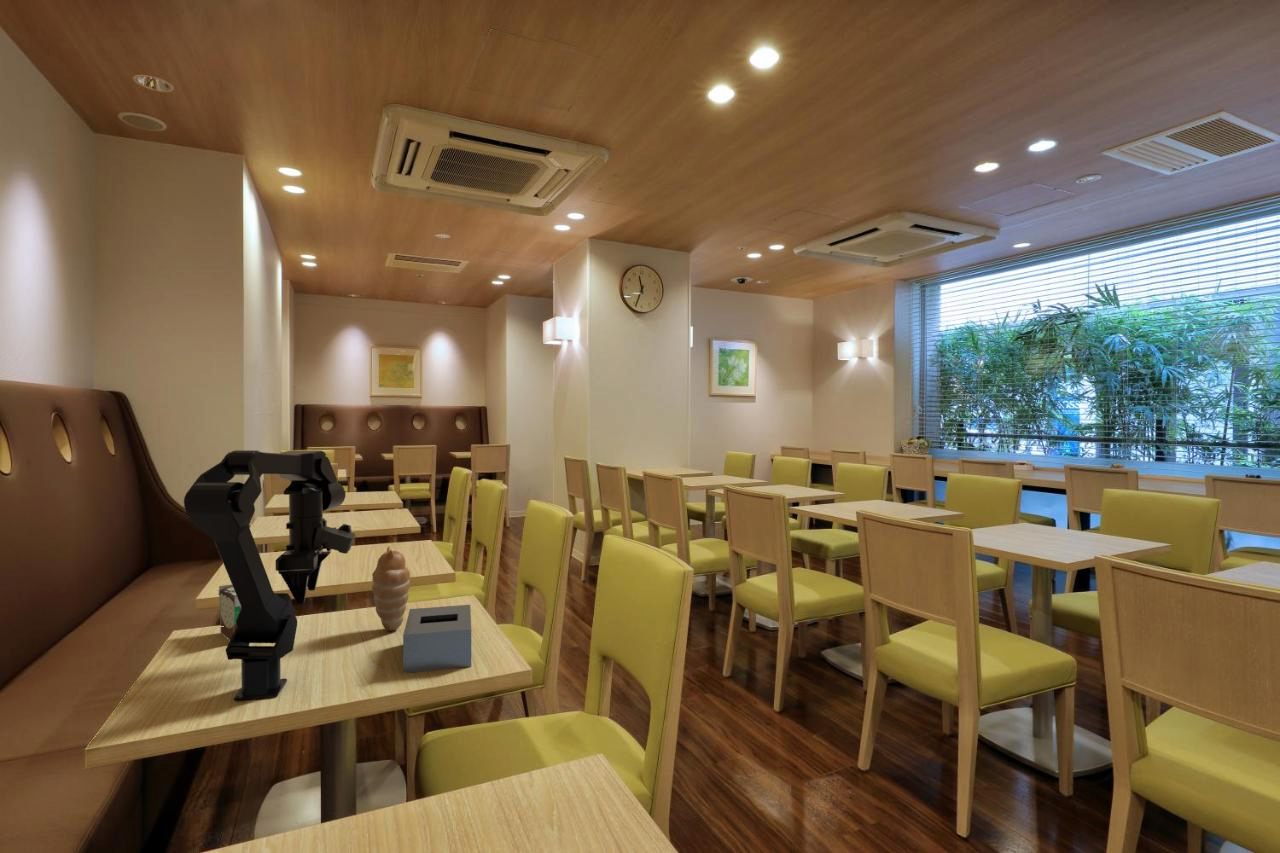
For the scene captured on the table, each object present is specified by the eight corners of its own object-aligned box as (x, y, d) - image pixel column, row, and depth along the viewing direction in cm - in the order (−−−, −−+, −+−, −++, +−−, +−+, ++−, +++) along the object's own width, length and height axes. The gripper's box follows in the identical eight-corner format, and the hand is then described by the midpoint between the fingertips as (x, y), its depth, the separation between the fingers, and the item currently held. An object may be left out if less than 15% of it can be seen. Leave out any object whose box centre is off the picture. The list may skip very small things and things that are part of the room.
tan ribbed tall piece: (370, 627, 141) (370, 546, 141) (407, 621, 145) (407, 542, 145) (373, 639, 133) (373, 553, 133) (413, 633, 137) (413, 550, 137)
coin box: (471, 666, 120) (471, 629, 119) (403, 673, 116) (403, 634, 116) (470, 637, 135) (470, 604, 135) (410, 642, 132) (410, 609, 132)
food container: (269, 638, 134) (269, 590, 134) (235, 646, 130) (235, 596, 129) (250, 625, 142) (250, 580, 142) (218, 631, 138) (218, 585, 138)
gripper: (343, 522, 116) (343, 607, 116) (359, 507, 134) (359, 581, 134) (274, 524, 113) (274, 612, 113) (300, 509, 131) (300, 585, 131)
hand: (306, 596), depth 123 cm, fingers open, 9 cm apart
